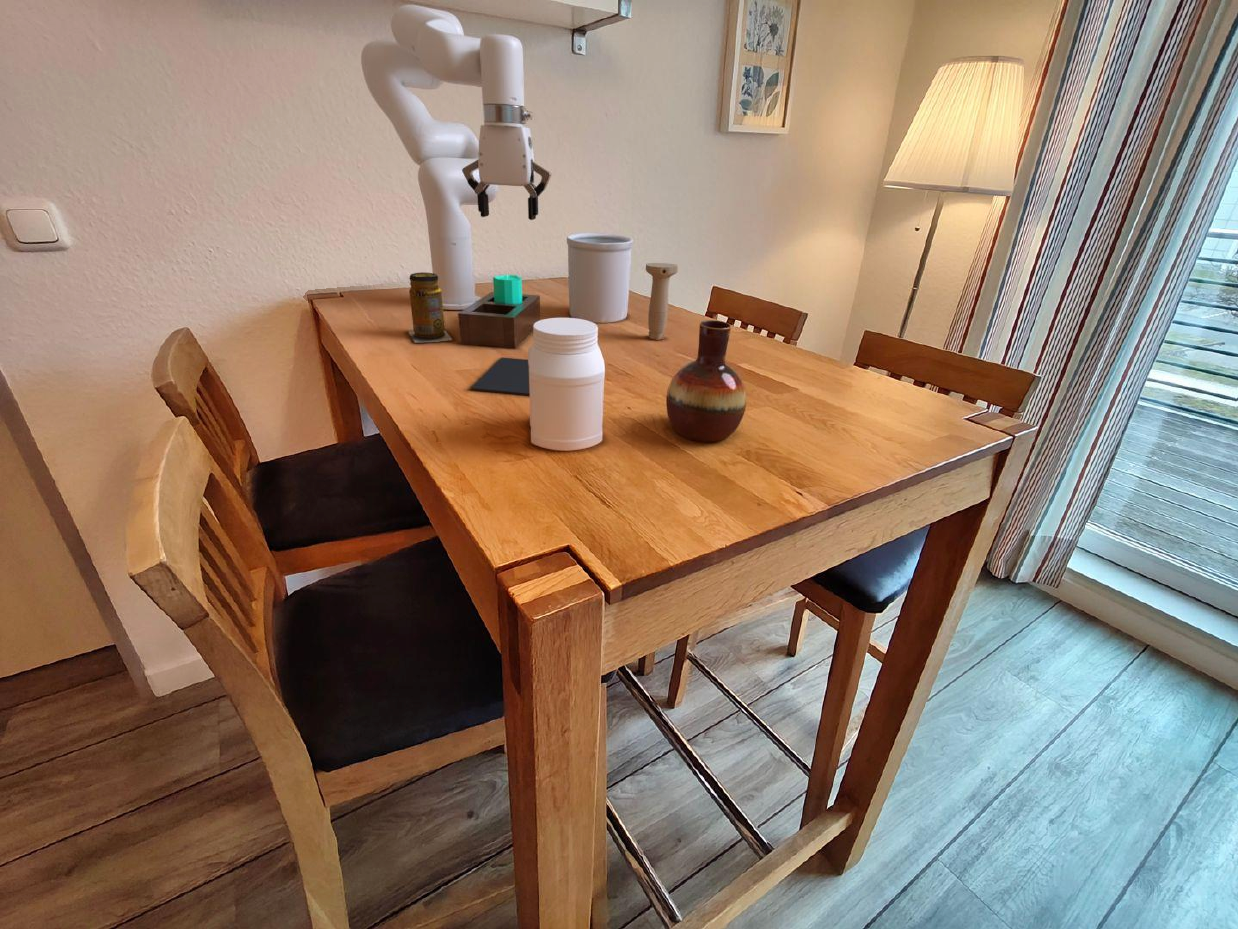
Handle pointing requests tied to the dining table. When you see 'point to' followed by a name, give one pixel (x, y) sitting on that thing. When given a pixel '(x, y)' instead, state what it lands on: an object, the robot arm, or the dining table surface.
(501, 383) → the mat
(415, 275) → the condiment
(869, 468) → the dining table surface
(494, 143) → the robot arm
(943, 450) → the dining table surface
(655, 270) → the handle
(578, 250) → the utensil holder
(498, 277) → the candle
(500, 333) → the holder
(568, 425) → the jar
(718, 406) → the vase
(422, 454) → the dining table surface
